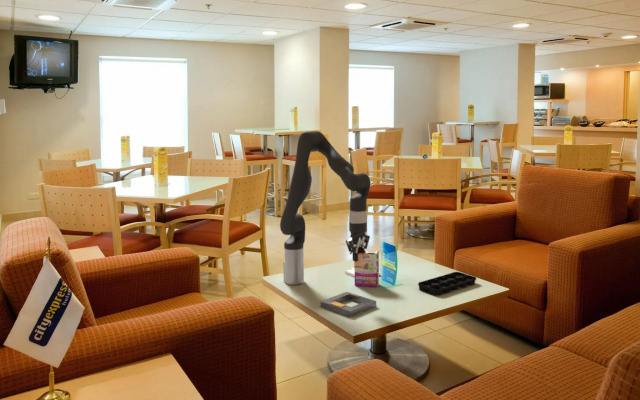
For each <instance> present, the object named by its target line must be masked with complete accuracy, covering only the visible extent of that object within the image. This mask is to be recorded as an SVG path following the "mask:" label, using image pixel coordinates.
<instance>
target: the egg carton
mask: <svg viewBox="0 0 640 400" xmlns="http://www.w3.org/2000/svg"><path fill="white" fill-rule="evenodd" d="M476 281H477V277H475V276H473V275H471V274H468V273H467V274H466V273H463V272H460V271H453V272H451V273H446V274H443V275H439V276H436V277H433V278H430V279H426V280H423V281H422V280H421V281H419V282H418V283H417V286H418V290H419V292H420V291H421V292H423V293H428V292H429V293H428V294H430V295H432V296H442V295H443V294H448V293H451V292H452V291H454V290H455V291H458V290H460V289H465V288H467V287H468V286H469V287H470V286H474V285H476ZM464 287H465V288H464Z"/></svg>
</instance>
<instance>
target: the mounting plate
mask: <svg viewBox="0 0 640 400" xmlns="http://www.w3.org/2000/svg"><path fill="white" fill-rule="evenodd" d="M344 274H346V275H348V276H350V277H352V278H354V279H355V268H354V266H353V267H350V269H346V270H344ZM379 275H380V271H379Z"/></svg>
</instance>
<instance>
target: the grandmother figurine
mask: <svg viewBox="0 0 640 400" xmlns="http://www.w3.org/2000/svg"><path fill="white" fill-rule="evenodd" d="M361 245H362V240H360V244H359V248H358V261H357V262H355V261H353V264H354V266H353V267H354V268H358V267H359V266H360V267H359V268H360V269H362V268H364V266H363V255H362V252H363V254H364V256H365V257H366V256H367V255H366V252H365V251H366V249H364V248H362V247H360V246H361ZM354 249H355V248H354ZM349 255H353V253H352V252H349Z"/></svg>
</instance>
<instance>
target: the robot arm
mask: <svg viewBox="0 0 640 400" xmlns="http://www.w3.org/2000/svg"><path fill="white" fill-rule="evenodd" d="M314 152H318V153H320V154H322V155H323V156H324V157H325V158H326V160H327V164H328V166H329V168H330V169H331V170H332V171H333V172H334V173H335V174H336V175H337V176H338V177H340V179H341V181H342V183H343V184H344V186H345V187H346V188H347V190H349V191H351V192H355V194H354V195H353V196H351V197H350V198H349V215H348V220H349V221H348V231H349V233H350V237H349V239H346V240H345V244H346V247H347V250H348V252H349V253H350V252H352V261H353V262H354V261H355V262H357V261H358V248H359V244H360V240H362V245H361V246H360V247H362V248H364V250H367V249H368V246H369V242H370V238H371V236H370V235H368V234H367V233H366V232H367V231H368V214H367V213H368V210H367V209H368V208H367V204H368V203H367V202H368V197H369V193H370V190H371V179H370V176H369V175H368V174H367V173H364V172H362V173H354V172H355V171H354V170H355V169H354V167H353V165H352V164H351V163H350V162H349V161H347V159H345V158H344V157H343V156H342V155H341V154H340V153H339V152H338V151H337V150H336V149H335V148H334V146H333V145H332V143H330V140H329V139H328V138H327V137H326V136H325V135H324V134H323V133H322V132H321V131H320V130H319V131H318V130H309V131H308V130H307V131H306V130H305V131H303V132H301V133H300V135H299V137H298V140H297V146H296V155H295V162H294V168H293V172H292V177H291V180H290V185H289V189H288V190H289V192H288V194H287V195H288V196H287V199H286V203H285V206H284V209H283V213H282V214H281V218H280V223H279V227H280V231H281V233H282V234H283V235H285V236H289V237H288V239H286V240H285V241H284V242H283V243H284V244H283V248H284V251H283V252H284V253H283V254H284V262H283V265H282V266H283V267H282V268H283V272H282V273H283V282H284V283H285V284H286V285H292V286H294V285H295V286H296V285H302V284H303V283H304V282H305V263H304V261H305V259H304V244H305V242H306V241H305V240H306V221H305V217H304V216H303V215H302V214H300V213H298V210H299V208H300V207H301V205H302V204H303V203H304V201H305V200H306V198H307V197H308V196H309V194H310V192H311V191H310V190H311V186H312V181H313V178H312V173H311V171H310V168H309V160H310V155H311V153H314ZM354 248H355V249H354ZM362 255H363V252H362Z"/></svg>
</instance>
